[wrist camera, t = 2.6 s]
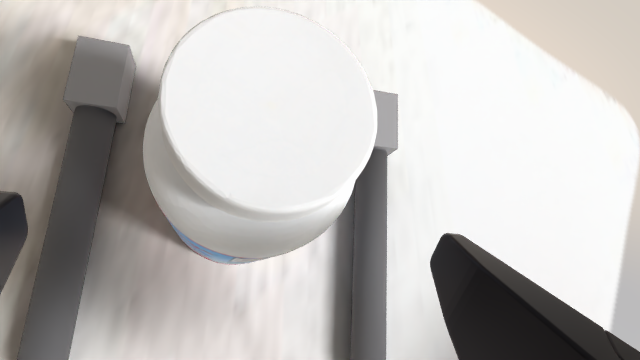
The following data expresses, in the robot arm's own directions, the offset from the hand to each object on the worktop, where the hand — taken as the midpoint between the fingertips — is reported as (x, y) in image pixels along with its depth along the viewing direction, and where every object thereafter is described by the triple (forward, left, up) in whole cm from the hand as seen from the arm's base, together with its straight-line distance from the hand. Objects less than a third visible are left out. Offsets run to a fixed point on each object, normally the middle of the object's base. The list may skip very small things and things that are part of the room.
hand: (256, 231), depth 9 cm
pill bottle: (+1, +2, -10) cm, 11 cm away
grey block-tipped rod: (+6, -2, -10) cm, 12 cm away
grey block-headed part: (-4, +5, -10) cm, 12 cm away
